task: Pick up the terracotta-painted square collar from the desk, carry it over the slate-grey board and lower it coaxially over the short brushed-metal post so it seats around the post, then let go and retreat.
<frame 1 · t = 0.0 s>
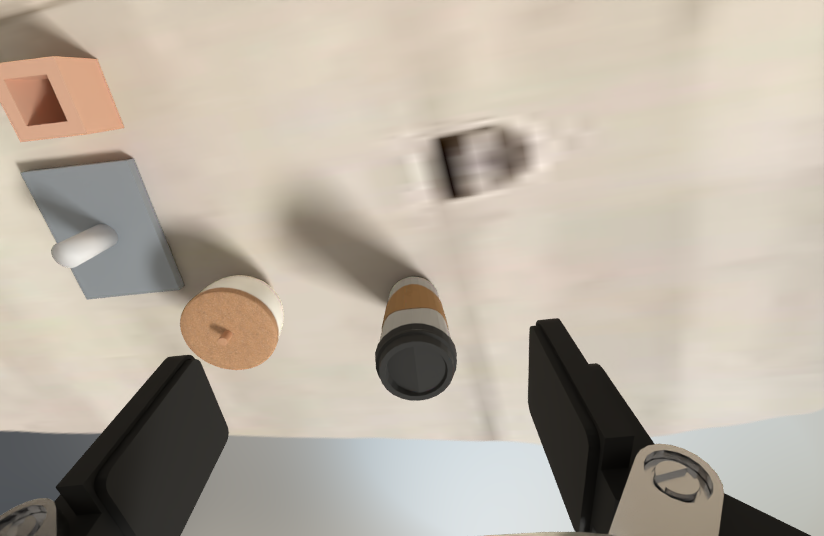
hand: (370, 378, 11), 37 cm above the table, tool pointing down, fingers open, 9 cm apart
board: (112, 231, 48), on the table
lidded jar: (252, 298, 52), on the table
coffee cup: (413, 295, 52), on the table
collar: (80, 98, 42), on the table
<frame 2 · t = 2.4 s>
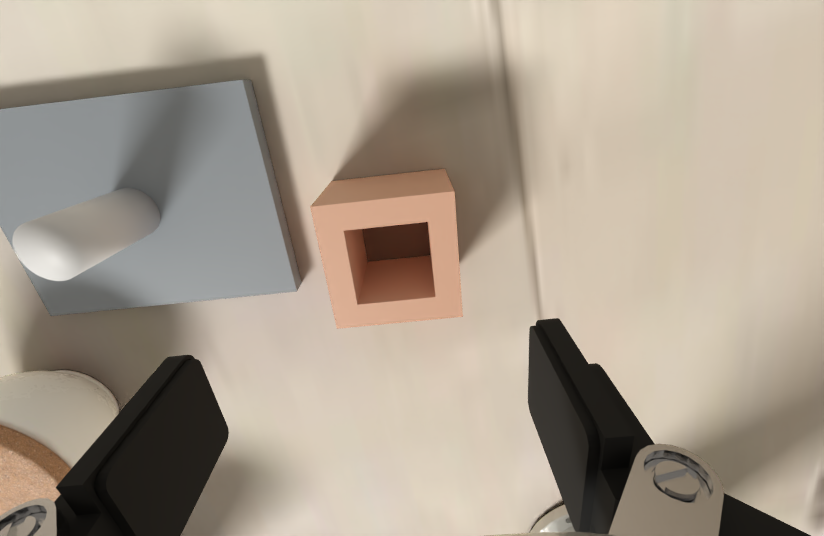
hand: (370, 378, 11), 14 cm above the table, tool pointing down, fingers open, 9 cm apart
board: (147, 206, 24), on the table
lidded jar: (79, 400, 30), on the table
collar: (395, 228, 24), on the table
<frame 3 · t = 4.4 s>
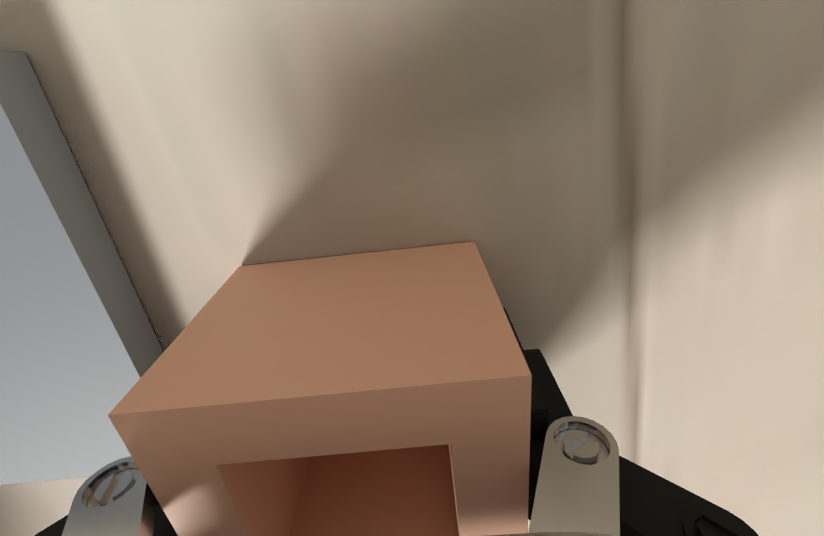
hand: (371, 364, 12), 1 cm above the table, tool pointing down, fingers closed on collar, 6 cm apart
collar: (373, 349, 12), on the table, touching gripper
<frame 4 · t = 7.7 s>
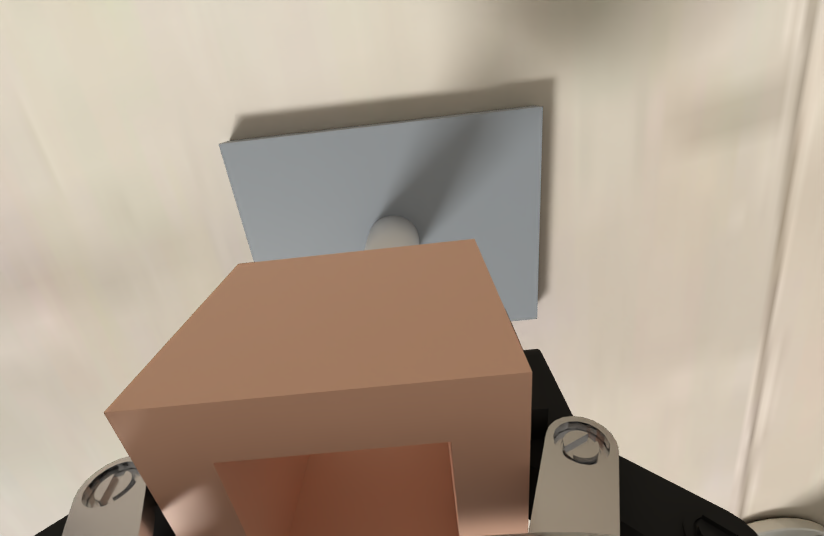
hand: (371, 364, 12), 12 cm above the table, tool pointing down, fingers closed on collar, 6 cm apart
board: (394, 232, 23), on the table
collar: (373, 348, 12), point 12 cm above the table, touching gripper
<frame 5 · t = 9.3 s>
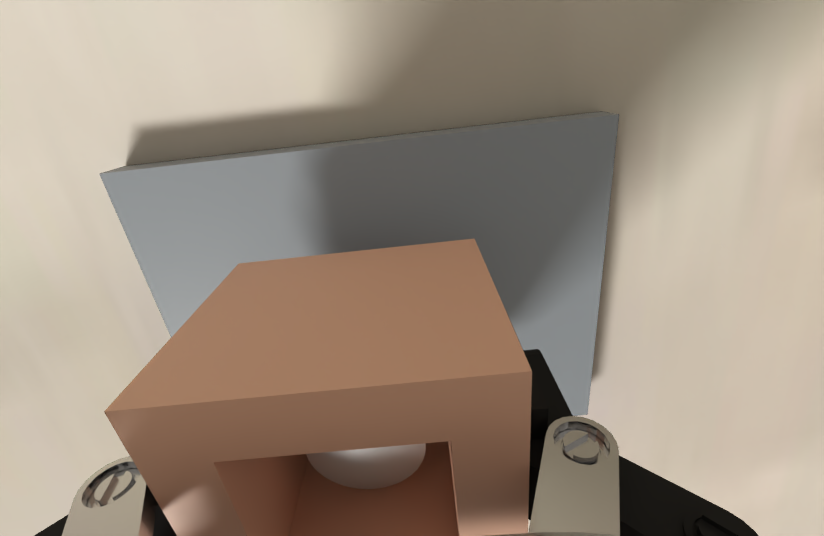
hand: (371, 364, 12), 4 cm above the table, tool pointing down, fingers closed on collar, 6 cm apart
board: (382, 296, 16), on the table
collar: (373, 347, 12), point 4 cm above the table, touching gripper
when the fingers open (3 cm above the table, at t = 10.8 s): collar drops 1 cm, resting on board.
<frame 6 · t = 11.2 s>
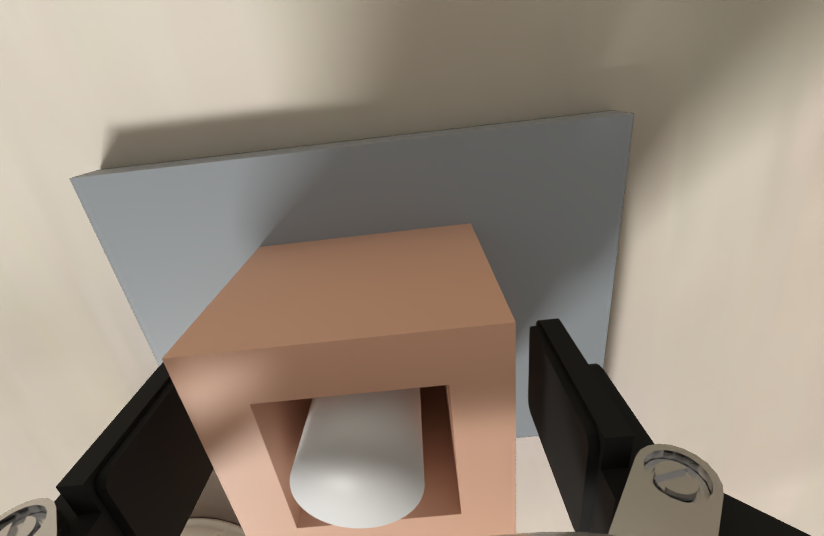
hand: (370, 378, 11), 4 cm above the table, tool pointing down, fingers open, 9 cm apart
board: (378, 307, 15), on the table
collar: (379, 324, 14), point 1 cm above the table, touching board
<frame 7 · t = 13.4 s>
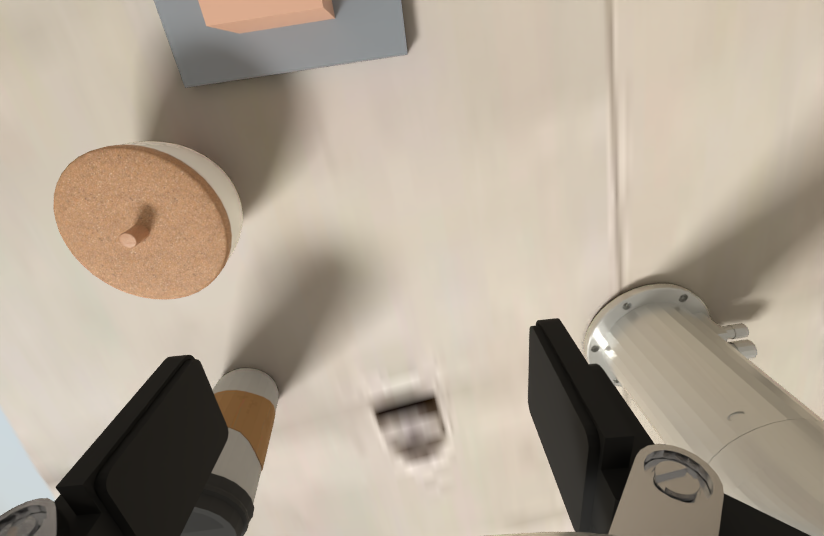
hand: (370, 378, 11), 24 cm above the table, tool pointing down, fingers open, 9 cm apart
lidded jar: (194, 196, 33), on the table
coffee cup: (250, 387, 43), on the table
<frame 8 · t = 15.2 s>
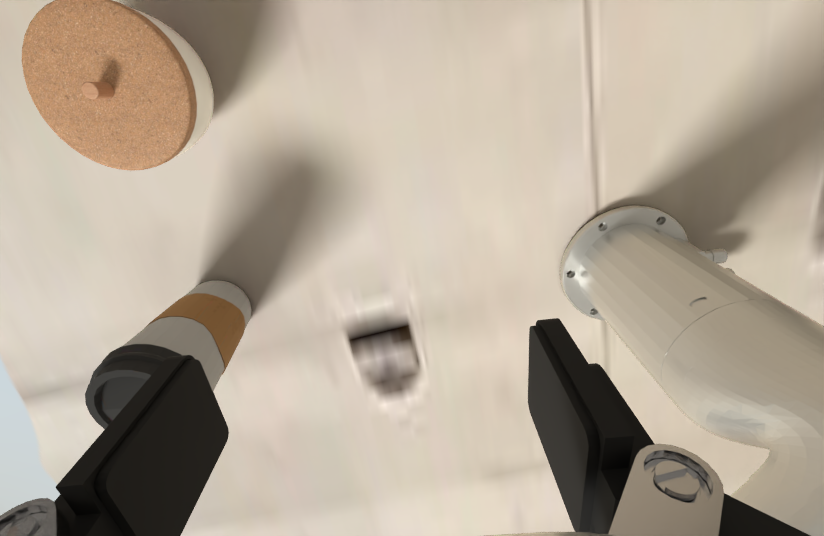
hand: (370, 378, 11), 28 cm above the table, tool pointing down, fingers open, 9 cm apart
lidded jar: (170, 88, 34), on the table
coffee cup: (223, 303, 43), on the table
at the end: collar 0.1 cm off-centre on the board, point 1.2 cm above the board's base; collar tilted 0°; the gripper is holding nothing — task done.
